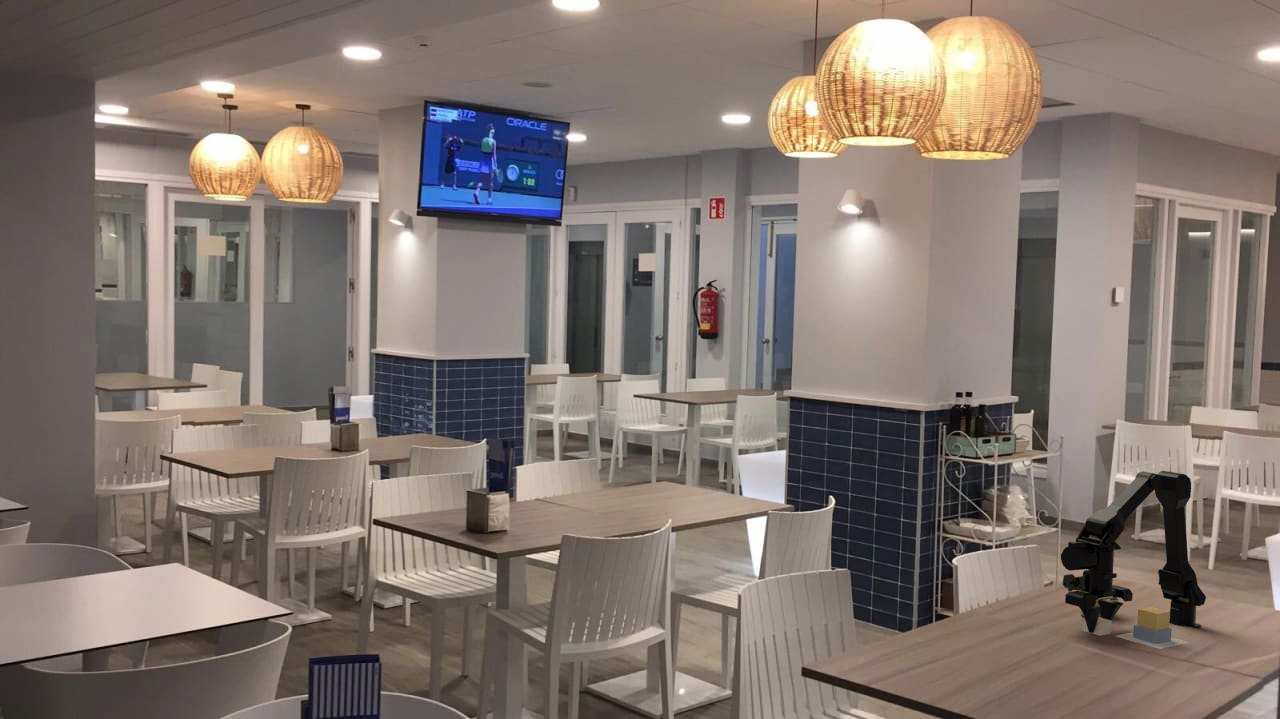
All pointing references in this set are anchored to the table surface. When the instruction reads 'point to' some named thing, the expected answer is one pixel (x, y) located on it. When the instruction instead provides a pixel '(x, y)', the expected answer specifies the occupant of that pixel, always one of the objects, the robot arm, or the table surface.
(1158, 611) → the brick ochre
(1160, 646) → the build plate
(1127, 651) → the table surface
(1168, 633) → the base brick
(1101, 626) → the brick cream
